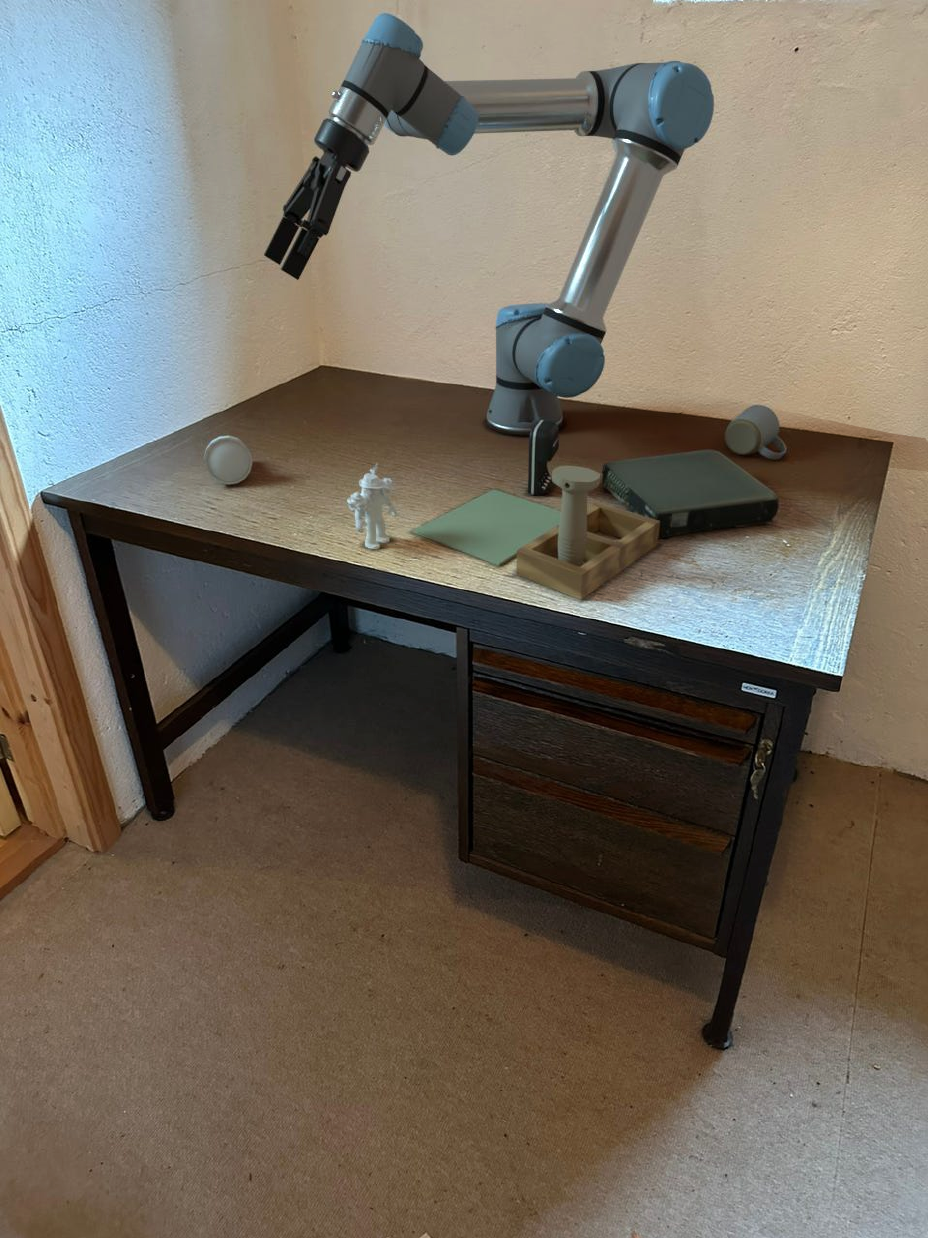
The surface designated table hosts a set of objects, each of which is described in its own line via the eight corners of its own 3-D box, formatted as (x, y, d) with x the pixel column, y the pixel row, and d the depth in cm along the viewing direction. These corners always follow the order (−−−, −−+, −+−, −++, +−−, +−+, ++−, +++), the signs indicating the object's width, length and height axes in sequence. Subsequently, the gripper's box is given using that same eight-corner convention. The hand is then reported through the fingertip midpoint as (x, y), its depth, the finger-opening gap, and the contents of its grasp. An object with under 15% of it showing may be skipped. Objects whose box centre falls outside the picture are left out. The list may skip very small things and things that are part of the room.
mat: (493, 491, 146) (493, 488, 145) (576, 518, 136) (576, 516, 136) (413, 532, 133) (413, 530, 133) (498, 566, 123) (498, 563, 123)
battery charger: (549, 498, 143) (551, 432, 137) (526, 495, 144) (528, 430, 138) (558, 482, 148) (561, 418, 142) (537, 479, 149) (539, 416, 143)
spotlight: (203, 483, 147) (204, 436, 144) (203, 471, 157) (204, 427, 154) (251, 486, 149) (253, 439, 146) (249, 474, 159) (250, 430, 157)
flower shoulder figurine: (386, 528, 134) (381, 456, 128) (405, 535, 132) (401, 462, 126) (346, 550, 128) (339, 476, 122) (366, 558, 126) (359, 482, 120)
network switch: (586, 490, 145) (588, 462, 143) (702, 468, 152) (706, 441, 150) (662, 549, 127) (666, 519, 124) (790, 521, 134) (796, 492, 131)
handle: (582, 585, 118) (589, 485, 110) (542, 572, 122) (546, 474, 113) (598, 571, 122) (606, 472, 114) (558, 559, 125) (563, 462, 117)
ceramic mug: (719, 452, 158) (725, 412, 154) (737, 439, 164) (744, 400, 160) (774, 466, 153) (783, 425, 149) (791, 452, 158) (800, 412, 154)
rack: (595, 524, 134) (597, 501, 132) (657, 545, 128) (660, 520, 126) (516, 574, 121) (516, 549, 119) (580, 600, 115) (582, 574, 113)
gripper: (307, 113, 131) (244, 241, 137) (349, 117, 111) (273, 266, 117) (348, 143, 135) (285, 267, 141) (396, 152, 115) (320, 295, 121)
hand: (280, 267), depth 129 cm, fingers open, 13 cm apart
